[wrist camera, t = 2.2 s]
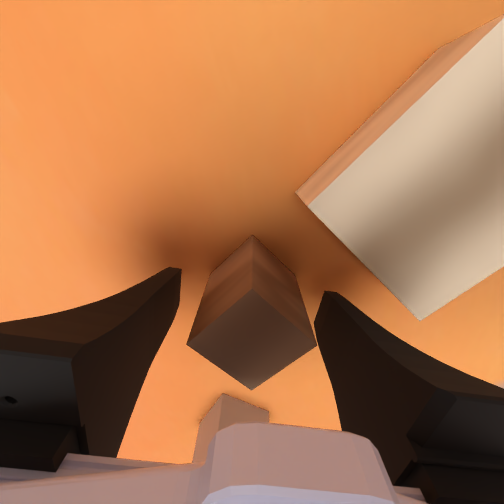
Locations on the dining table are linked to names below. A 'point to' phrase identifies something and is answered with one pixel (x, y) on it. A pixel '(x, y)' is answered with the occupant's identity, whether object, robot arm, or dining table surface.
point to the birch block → (426, 177)
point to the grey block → (224, 421)
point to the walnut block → (252, 316)
